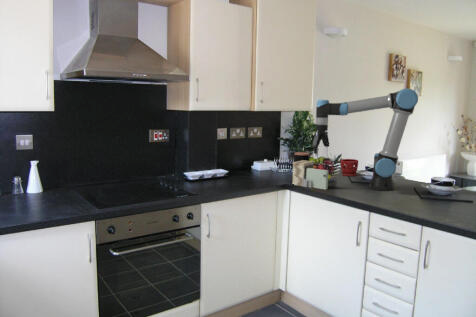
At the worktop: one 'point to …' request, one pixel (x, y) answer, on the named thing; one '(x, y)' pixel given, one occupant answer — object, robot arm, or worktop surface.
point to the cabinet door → (317, 178)
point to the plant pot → (349, 167)
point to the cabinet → (300, 171)
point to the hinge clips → (306, 182)
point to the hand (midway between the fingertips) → (320, 157)
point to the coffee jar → (301, 156)
